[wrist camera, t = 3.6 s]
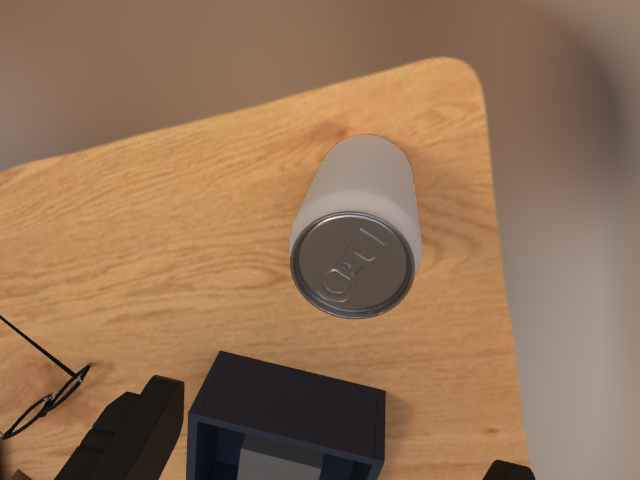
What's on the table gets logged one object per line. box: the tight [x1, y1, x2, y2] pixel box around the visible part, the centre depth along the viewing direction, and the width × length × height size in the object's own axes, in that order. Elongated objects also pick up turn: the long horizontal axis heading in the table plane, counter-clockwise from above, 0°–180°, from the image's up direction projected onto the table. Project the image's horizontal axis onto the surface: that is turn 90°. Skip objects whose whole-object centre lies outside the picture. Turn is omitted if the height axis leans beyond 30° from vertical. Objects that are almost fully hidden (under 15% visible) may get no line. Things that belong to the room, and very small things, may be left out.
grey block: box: [237, 434, 324, 480], centre depth 40 cm, size 7×7×5 cm
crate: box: [186, 351, 385, 480], centre depth 40 cm, size 16×16×7 cm
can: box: [289, 135, 422, 319], centre depth 24 cm, size 6×6×12 cm
